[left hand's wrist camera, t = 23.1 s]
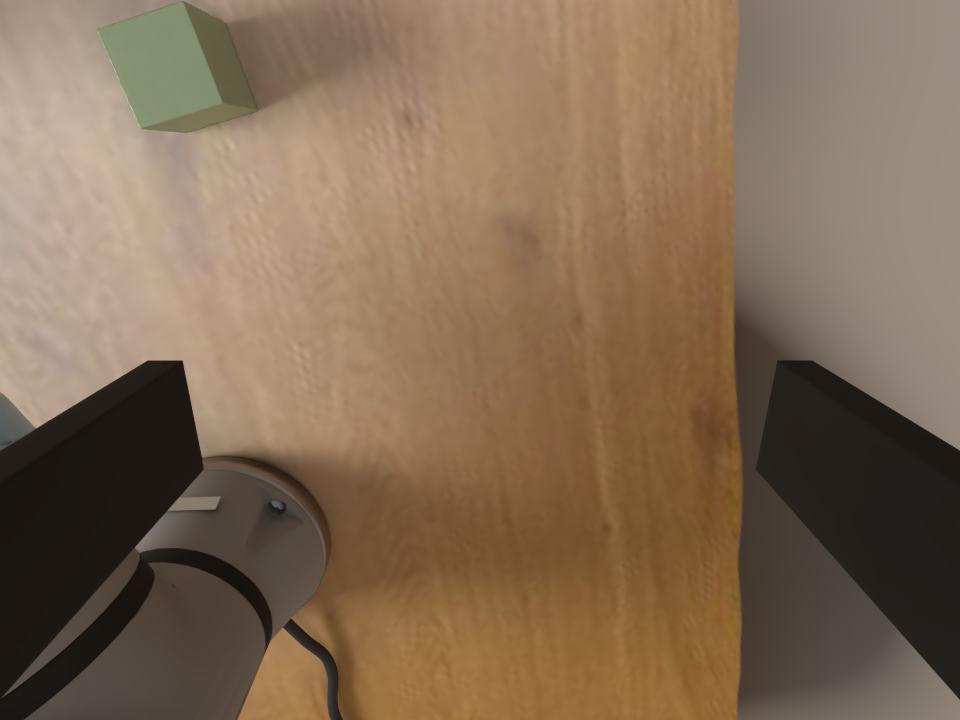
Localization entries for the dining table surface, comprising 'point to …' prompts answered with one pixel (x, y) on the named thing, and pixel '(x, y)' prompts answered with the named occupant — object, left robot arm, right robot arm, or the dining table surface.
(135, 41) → the sage block
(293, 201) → the dining table surface
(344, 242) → the dining table surface
